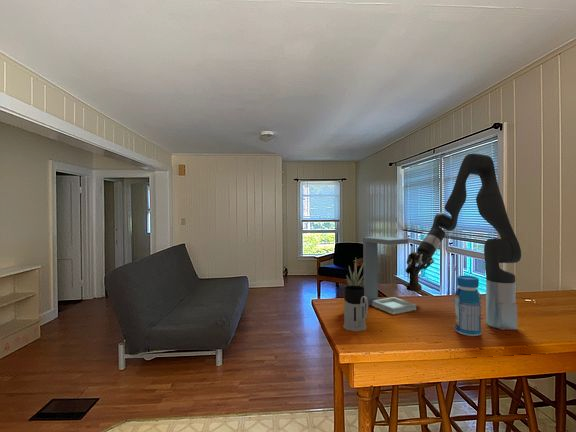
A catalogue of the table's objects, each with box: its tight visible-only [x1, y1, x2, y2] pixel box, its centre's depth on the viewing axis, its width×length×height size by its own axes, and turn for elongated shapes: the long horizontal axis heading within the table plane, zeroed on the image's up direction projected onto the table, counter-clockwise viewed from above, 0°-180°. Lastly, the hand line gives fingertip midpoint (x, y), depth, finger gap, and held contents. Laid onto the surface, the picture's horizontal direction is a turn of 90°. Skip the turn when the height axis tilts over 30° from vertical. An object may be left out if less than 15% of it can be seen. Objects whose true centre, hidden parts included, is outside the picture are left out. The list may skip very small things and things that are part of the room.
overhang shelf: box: [362, 235, 417, 315], centre depth 142 cm, size 16×17×32 cm
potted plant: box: [343, 258, 367, 303], centre depth 134 cm, size 10×10×25 cm
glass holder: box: [342, 285, 369, 332], centre depth 116 cm, size 9×14×15 cm, turn 15°
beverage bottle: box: [454, 275, 483, 337], centre depth 112 cm, size 8×8×20 cm
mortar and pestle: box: [406, 251, 423, 292], centre depth 146 cm, size 7×6×18 cm
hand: (410, 273), depth 145 cm, fingers closed on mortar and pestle, 4 cm apart
